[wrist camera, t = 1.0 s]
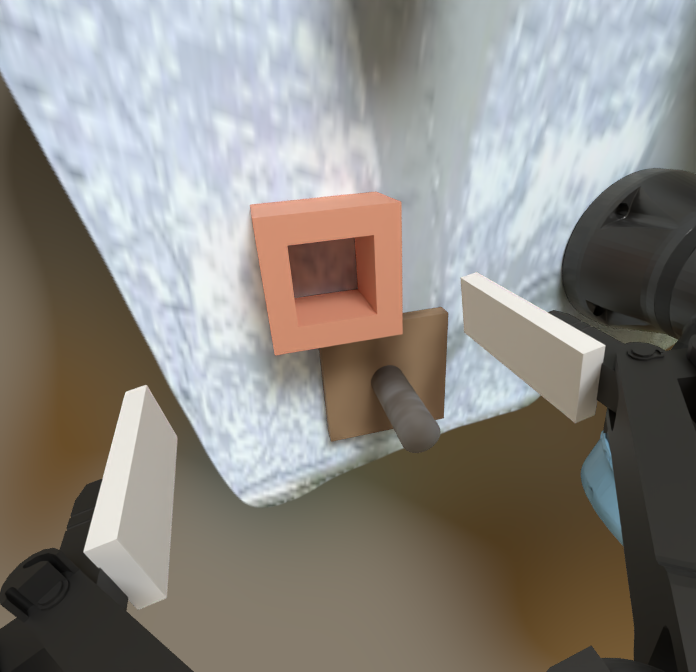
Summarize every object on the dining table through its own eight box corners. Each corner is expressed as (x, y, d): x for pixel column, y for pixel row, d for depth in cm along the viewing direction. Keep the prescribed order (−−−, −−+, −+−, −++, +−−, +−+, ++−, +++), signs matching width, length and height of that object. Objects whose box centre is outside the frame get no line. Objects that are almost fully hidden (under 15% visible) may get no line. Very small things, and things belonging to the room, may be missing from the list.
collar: (376, 191, 33) (401, 201, 28) (380, 306, 38) (402, 333, 32) (250, 204, 32) (251, 218, 26) (270, 323, 36) (274, 355, 31)
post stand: (441, 306, 39) (498, 355, 30) (437, 409, 45) (485, 476, 36) (316, 326, 37) (339, 385, 28) (328, 432, 43) (350, 508, 34)
